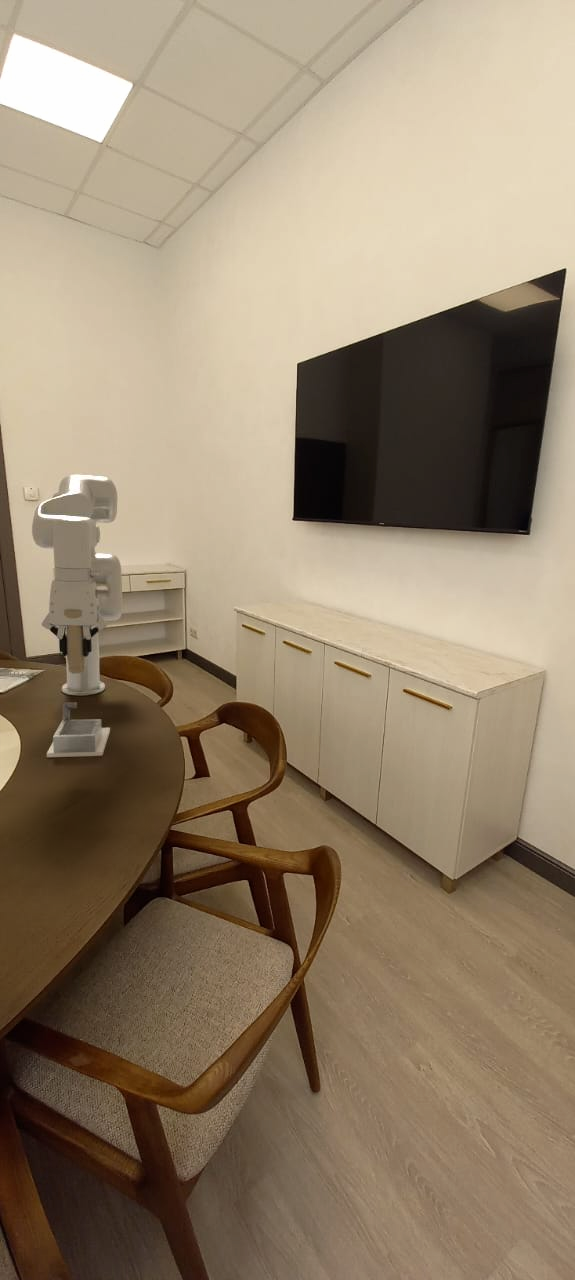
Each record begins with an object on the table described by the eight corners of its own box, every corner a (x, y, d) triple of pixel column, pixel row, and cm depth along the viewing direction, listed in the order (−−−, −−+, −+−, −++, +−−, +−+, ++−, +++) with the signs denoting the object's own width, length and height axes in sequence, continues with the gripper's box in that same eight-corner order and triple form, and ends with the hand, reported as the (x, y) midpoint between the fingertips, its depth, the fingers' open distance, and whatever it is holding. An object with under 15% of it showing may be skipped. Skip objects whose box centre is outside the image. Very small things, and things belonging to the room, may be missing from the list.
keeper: (60, 732, 131) (59, 699, 129) (110, 731, 133) (109, 699, 131) (46, 757, 118) (45, 721, 116) (102, 755, 120) (101, 720, 118)
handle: (88, 667, 123) (86, 605, 120) (86, 676, 117) (84, 611, 114) (66, 668, 122) (64, 605, 118) (63, 676, 116) (61, 610, 112)
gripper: (114, 574, 119) (116, 651, 124) (37, 571, 116) (41, 650, 120) (110, 578, 112) (112, 659, 117) (27, 575, 109) (32, 659, 113)
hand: (75, 654), depth 118 cm, fingers closed on handle, 3 cm apart
